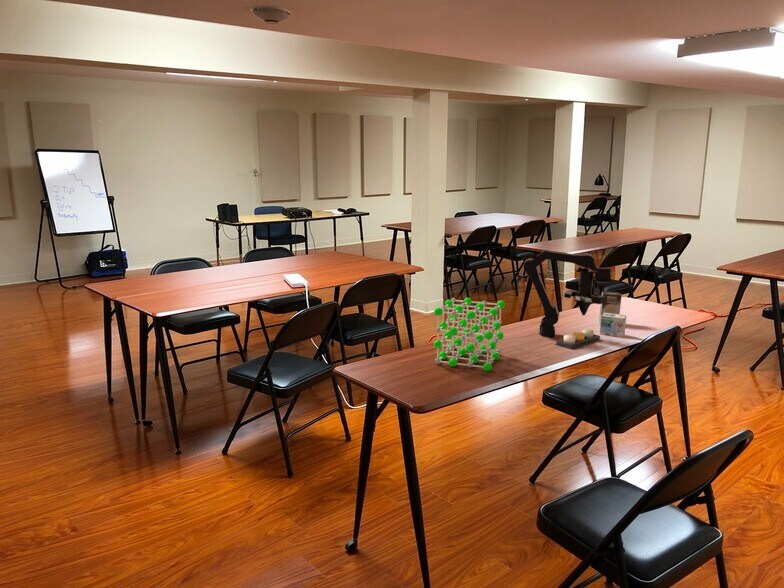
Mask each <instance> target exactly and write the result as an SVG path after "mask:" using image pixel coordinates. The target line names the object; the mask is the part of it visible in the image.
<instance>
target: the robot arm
mask: <svg viewBox="0 0 784 588" xmlns="http://www.w3.org/2000/svg"><path fill="white" fill-rule="evenodd" d="M547 260H550V261H558V262H563V263H570V264H574V265H577V266H578V267H577V268H576V269H575V272H576V273H579V283H577V287H578V290H576V289H575V290H574V289H569V290H566V291H564V294H563V297H564V298H566V299H570V298H572V297H575V299H574V301H575V303H576V304H577V306H578V308H579V310H580V313H581V315H582V316H586V314H587V313H588V309H589V308H590V306H591V304H596V305H601V304H603V303H606V301H607V299H606V297H605V296H602V295H600V291H601V288H598V287H596V286H595V284H594V283H593V282H594V281H596V283H599V284H600V283H601V284H602V283H603V284H611V280H612V275H611V271H612V270H611V267H599V266H598V264H597V263H596V262H595V258H594V255H593V254H591V253H568V252H560V251H553V250H549V249H543V250H542V251H541V252H539V253H538V254H536V255H534V257H532V258H531V257H529V258H527V259H525V261H524V263H523V265H522V267H523V270H524V271H525V273H526V274H527V276H528V277H529V278H530V280H531V282H532V283H533V287H534V289H535V291H536V294H537V295H538V297H539V300H540V303H541V305H542V308H543V309H542V310H543V313H544V316H543V317H542V318H541V320H540V324H539V334H538V335H539V336H540V337H543V338H550V339H553V338H555V337H556V329H555V328H556V326H555V325H556V324H557V323H558V322H559V319H560V317H559V316H560V311H559V310H558V307H557V304H554V305H553V303H552V302H551V299H550V298H549V297H550V296H549V295H548V293H547V290H546V288H545V286H544V283H543V281H542V279H541V277H540V272H539V265H541V264H542V263H544V262H545V261H547Z"/></svg>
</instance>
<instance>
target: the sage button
mask: <svg viewBox="0 0 784 588" xmlns="http://www.w3.org/2000/svg"><path fill="white" fill-rule="evenodd" d="M581 332H582V333H585V337H586V338H591V337H593V334H595V331H594V330H593V329H588V328H587V329H586V328H585V329H584V328H583V329H582V331H581Z"/></svg>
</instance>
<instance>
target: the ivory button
mask: <svg viewBox="0 0 784 588" xmlns="http://www.w3.org/2000/svg"><path fill="white" fill-rule="evenodd" d="M575 338H576V337H575V336H574V335H573V334H565V335H563V339H564V342H565V343H569V344H573V343H575Z"/></svg>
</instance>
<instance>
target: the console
mask: <svg viewBox="0 0 784 588" xmlns="http://www.w3.org/2000/svg"><path fill="white" fill-rule="evenodd" d="M601 341H602V339H601V335H600V334H595V333H594V334H593V337H591V338H586V337H585V338H584V340H582V341H578V340H575V343H573V344H569V343H565V342H564V338H562V339H558V340H556V343H554V344H553V345H554V346H557V347H561V348H565V349H569V350H572V351H574V350H577V349H579V348H583V347H586V346H589V345H592V344H595V343H598V342H601Z"/></svg>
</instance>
